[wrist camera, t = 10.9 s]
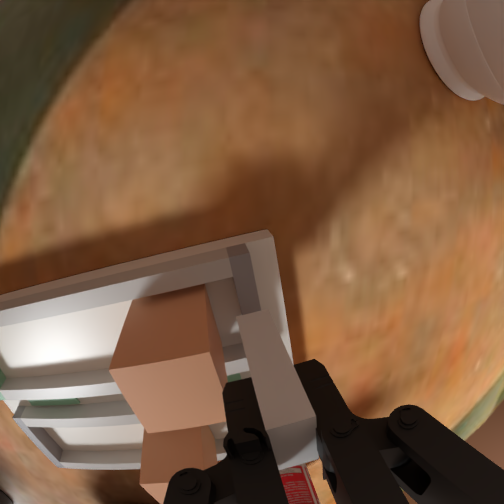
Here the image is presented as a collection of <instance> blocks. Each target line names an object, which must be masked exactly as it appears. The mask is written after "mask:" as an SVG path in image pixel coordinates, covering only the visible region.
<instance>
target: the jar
mask: <svg viewBox="0 0 504 504" xmlns="http://www.w3.org/2000/svg"><path fill="white" fill-rule="evenodd" d="M420 33H421V38H422V42H423V45H424V48H425V51H426V53H427V56H428V58H429V60H430V62H431V64H432V66H433V68H434V69H435V71H436V72H437V74H438V75H439V77H440V78H441V80H442V81H443V82H444V83H445V84H446V86H447V87H448V88H449V89H451V90H452V91H453V92H454V93H455V94H457V95H458V96H460V97H462V98H464V99H467V100H472V101H475V100H480V99H482V98H484V97H487V98H489V99H491V100H493V101H495V102H497V103H500V104H503V105H504V0H430V1H428V2H427V3H426V4H425V5H424V7H423V8H422V11H421V14H420Z"/></svg>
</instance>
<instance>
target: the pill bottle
mask: <svg viewBox="0 0 504 504" xmlns="http://www.w3.org/2000/svg"><path fill="white" fill-rule="evenodd" d="M279 473H280V476H281V479H282V483H283V486H284V489H285V492H286V496H287V499H288V502H289V504H320V502H319V499H318V496H317V494H316V491H315V488H314V486H313V483H312V480H311V477H310V475H309V472H308V469H307V467H306V464H305V463H303V464H300V465H296V466H293V467H289V468H285V469H282V470H279Z"/></svg>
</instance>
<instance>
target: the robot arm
mask: <svg viewBox="0 0 504 504" xmlns="http://www.w3.org/2000/svg"><path fill="white" fill-rule="evenodd" d="M236 318H237V322H238V326H239V330H240V335H241V339H242V343H243V346H244V350H245V354H246V358H247V362H248V366H249V370H250V374H251V377H249V378H245V379H241V380H236V381H232V382H227V383H226V384H225V387H224V389H223V392H222V396H223V403H224V409H225V416H226V423H227V429H228V433H227V435H226V436H225V438H224V441H223V447H224V449H225V451H226V453H227V455H226V457H225V458H224V459H223V460H222V461H221V462H219V463H218V464H216V465H214V466H212V467H209V468H207V469H205V470H203V471H202V470H201V469H197V468H185V469H182V470H180V471H178V472H176V473H175V474H174V475H173V476H172V477H171V479H170V481H169V484H168V487H167V491H166V495H165V498H164V502H163V504H289V502H288V499H287V496H286V492H285V489H284V486H283V483H282V479H281V476H280V473H279V470H282V469H285V468H289V467H293V466H296V465H300V464H303V463H307V462H310V461H313V460H316V459H319V456H320V459H321V461H322V464H323V480H325V479H327V482H328V484H329V487H330V489H331V492H332V494H333V496H334V499H335V501H336V504H409V502H408V501H407V499H406V497H405V496H404V494H403V492H402V490H401V488H402V489H403V490H404V491H405V492H406V493H407V494H409V495H410V497H411V498H413V499H414V500H415V501H416V502H417V503H418V504H504V470H503V469H501V468H500V467H499V466H497V465H496V464H495V463H493V462H492V461H491V460H489V459H488V458H486V457H485V456H484V455H483V454H481V453H480V452H479V451H477V450H476V449H475V448H473V447H472V446H471V445H469V444H468V443H466V442H465V441H464V440H463V439H461V438H460V437H459V436H457V435H456V434H455V433H453V432H452V431H451V430H449V429H448V428H447V427H445V426H444V425H443V424H442V423H440V422H439V421H438V420H436V419H435V418H434V417H432V416H431V415H430V414H428V413H427V412H426V411H425V410H423V409H422V408H420V407H418V406H415V405H403V406H400V407H398V408H396V409H394V411H393V412H392V413H391V414H390V416H389V417H384V418H377V419H364V418H360V417H358V416H356V415H354V414H353V413H352V412H351V411H350V410H349V409H348V407H347V405H346V403H345V402H344V400H343V398H342V396H341V394H340V393H339V391H338V389H337V387H336V386H335V384H334V383H333V380H332V379H331V377H330V376H329V373H328V372H327V370H326V368H325V366H324V365H323V364H321V363H320V362H318V361H317V360H315V359H312V360H309V361H306V362H302V363H299V364H295V365H293V363H292V361H291V359H290V357H289V354H288V352H287V350H286V348H285V345H284V343H283V341H282V339H281V336H280V334H279V332H278V330H277V327H276V325H275V323H274V321H273V318H272V316H271V314H270V312H269V309H265V310H261V311H257V312H253V313H249V314H245V315H241V316H237V317H236ZM318 454H319V455H318ZM399 486H400V487H401V488H400V487H399ZM0 504H13V503H12V501H11V500H10V499H9V498H8V497H7V496H6V495H5V494H4V493H3V492H2V491H0Z"/></svg>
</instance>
